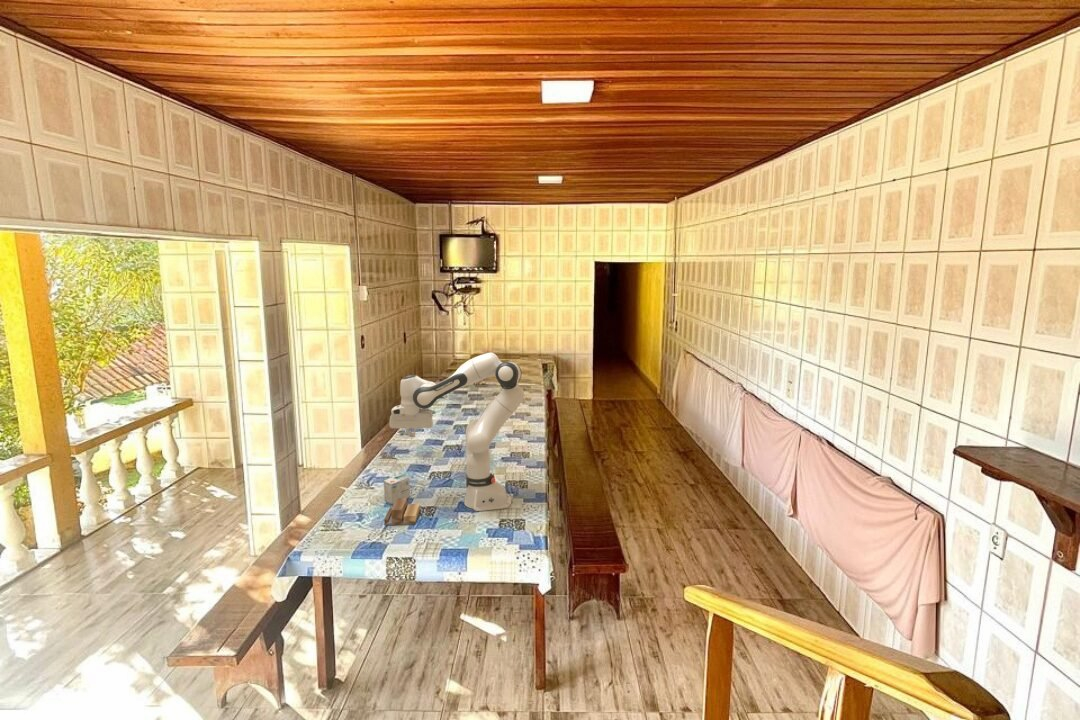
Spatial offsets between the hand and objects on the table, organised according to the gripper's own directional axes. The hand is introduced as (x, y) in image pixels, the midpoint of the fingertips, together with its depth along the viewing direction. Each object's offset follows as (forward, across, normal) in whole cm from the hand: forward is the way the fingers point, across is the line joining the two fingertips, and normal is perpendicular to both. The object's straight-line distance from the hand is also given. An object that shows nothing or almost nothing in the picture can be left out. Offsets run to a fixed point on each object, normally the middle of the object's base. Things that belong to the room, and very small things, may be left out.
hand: (411, 436), depth 266 cm
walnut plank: (+30, +3, +22) cm, 37 cm away
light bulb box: (+31, +8, +2) cm, 32 cm away
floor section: (+31, +2, +22) cm, 38 cm away
